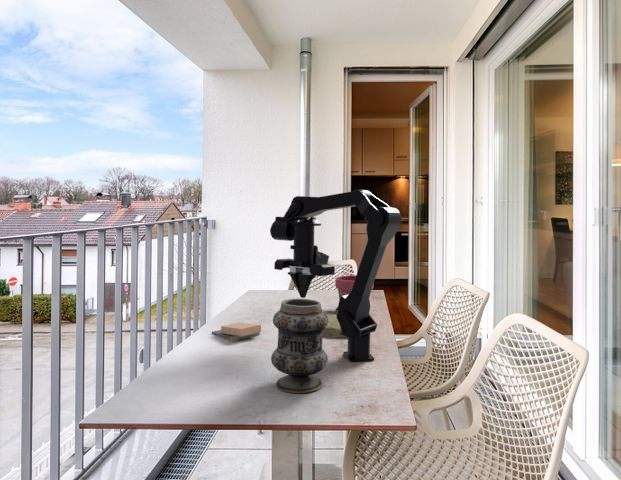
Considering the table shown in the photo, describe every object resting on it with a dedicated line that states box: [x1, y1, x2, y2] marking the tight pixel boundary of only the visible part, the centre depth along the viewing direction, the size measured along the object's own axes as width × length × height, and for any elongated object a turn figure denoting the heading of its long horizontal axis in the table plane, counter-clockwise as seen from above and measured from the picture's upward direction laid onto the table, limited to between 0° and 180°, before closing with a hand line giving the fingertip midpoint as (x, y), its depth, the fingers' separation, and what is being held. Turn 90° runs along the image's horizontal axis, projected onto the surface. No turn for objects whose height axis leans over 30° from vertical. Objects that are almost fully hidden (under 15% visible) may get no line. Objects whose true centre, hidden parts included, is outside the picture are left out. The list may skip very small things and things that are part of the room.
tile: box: [220, 321, 262, 337], centre depth 130 cm, size 2×7×10 cm
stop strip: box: [229, 332, 261, 343], centre depth 129 cm, size 1×10×1 cm, turn 135°
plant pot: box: [334, 274, 375, 299], centre depth 164 cm, size 14×14×13 cm
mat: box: [211, 329, 234, 341], centre depth 133 cm, size 10×9×1 cm
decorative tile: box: [322, 313, 348, 339], centre depth 140 cm, size 19×20×4 cm
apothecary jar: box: [270, 297, 329, 394], centre depth 94 cm, size 12×12×18 cm
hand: (303, 297), depth 124 cm, fingers closed
